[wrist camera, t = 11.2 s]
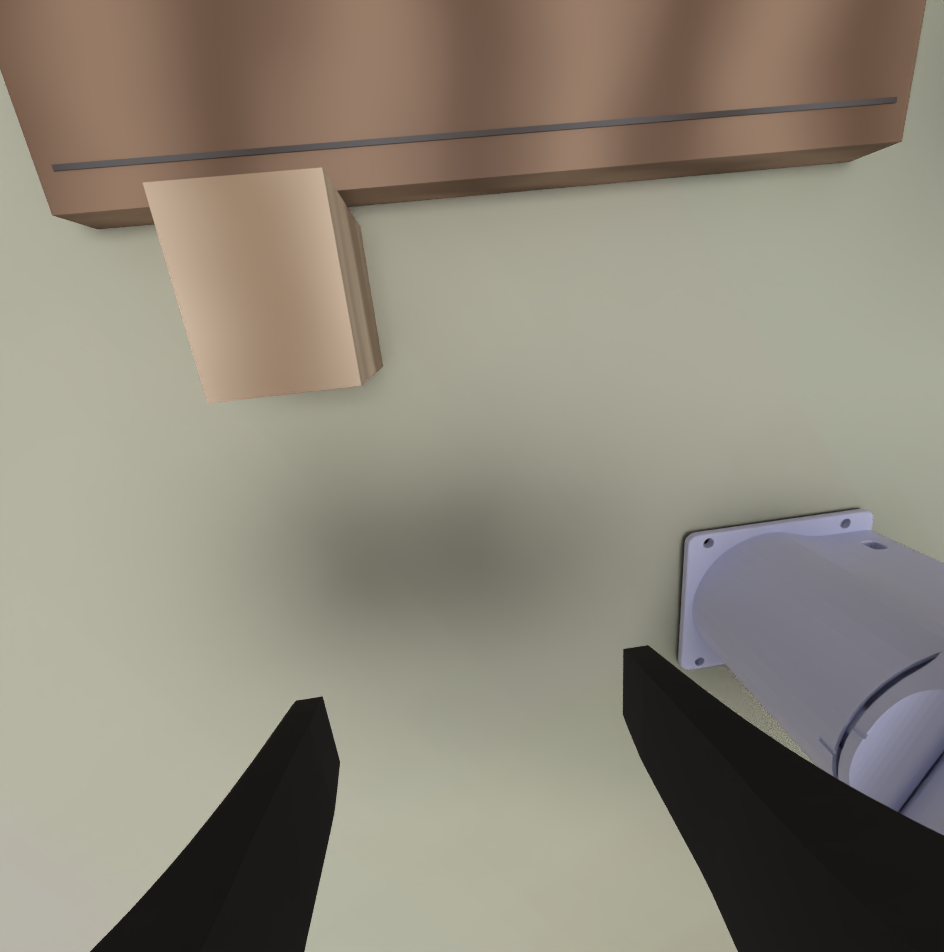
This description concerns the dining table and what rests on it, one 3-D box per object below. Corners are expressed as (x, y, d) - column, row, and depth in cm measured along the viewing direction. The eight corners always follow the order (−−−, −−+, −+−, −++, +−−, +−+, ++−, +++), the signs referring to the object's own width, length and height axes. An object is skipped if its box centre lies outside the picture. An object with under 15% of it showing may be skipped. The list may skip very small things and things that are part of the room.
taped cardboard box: (359, 219, 16) (319, 154, 10) (383, 366, 18) (361, 385, 12) (247, 229, 16) (138, 169, 10) (282, 377, 18) (206, 403, 12)
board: (884, -80, 15) (952, -141, 13) (849, 161, 17) (903, 140, 15) (10, -34, 13) (-60, -95, 11) (97, 228, 16) (50, 214, 14)
